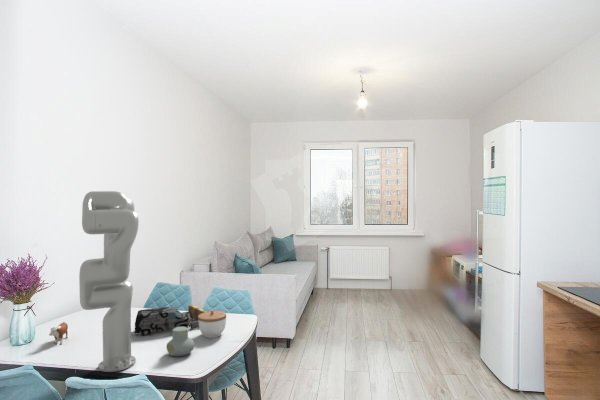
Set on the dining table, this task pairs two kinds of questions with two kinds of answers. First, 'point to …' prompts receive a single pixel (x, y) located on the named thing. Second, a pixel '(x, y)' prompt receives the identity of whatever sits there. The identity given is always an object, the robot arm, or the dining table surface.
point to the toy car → (160, 320)
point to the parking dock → (194, 315)
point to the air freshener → (180, 342)
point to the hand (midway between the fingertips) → (111, 267)
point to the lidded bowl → (212, 323)
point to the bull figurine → (59, 332)
